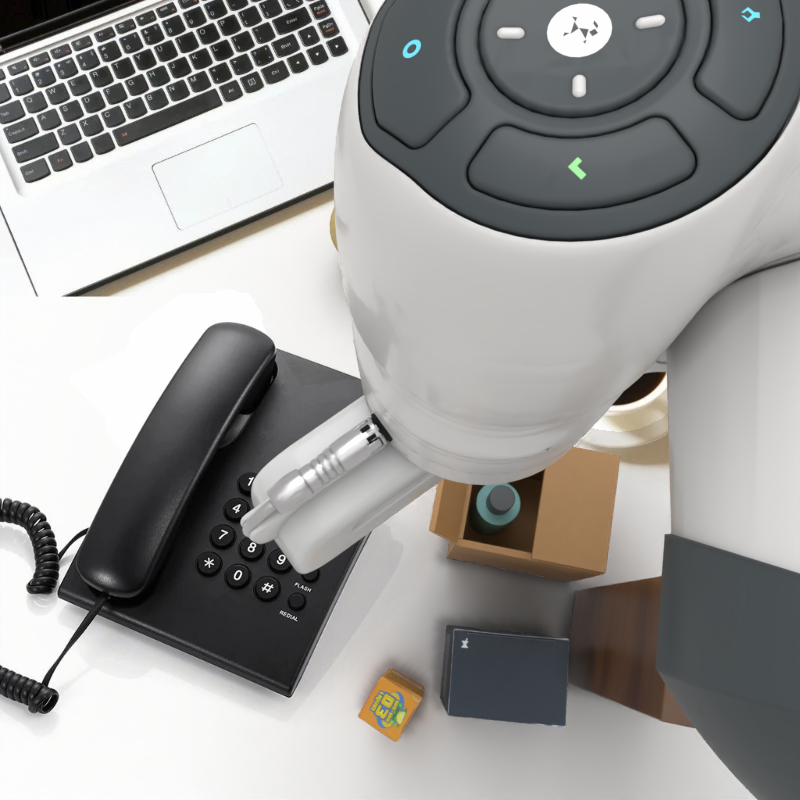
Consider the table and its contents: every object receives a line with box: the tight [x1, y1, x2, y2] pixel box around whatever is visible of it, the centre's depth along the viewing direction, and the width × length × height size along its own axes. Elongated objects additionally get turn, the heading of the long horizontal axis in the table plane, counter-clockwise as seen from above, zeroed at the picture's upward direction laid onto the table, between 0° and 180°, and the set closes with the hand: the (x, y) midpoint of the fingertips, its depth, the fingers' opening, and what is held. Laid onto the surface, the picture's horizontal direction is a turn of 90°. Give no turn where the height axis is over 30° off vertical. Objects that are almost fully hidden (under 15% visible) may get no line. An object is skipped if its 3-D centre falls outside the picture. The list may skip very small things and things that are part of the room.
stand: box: [568, 575, 695, 729], centre depth 51 cm, size 7×7×25 cm
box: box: [439, 624, 570, 728], centre depth 57 cm, size 8×6×11 cm
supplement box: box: [357, 667, 425, 743], centre depth 57 cm, size 3×3×10 cm
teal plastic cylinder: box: [469, 483, 521, 536], centre depth 60 cm, size 3×3×10 cm
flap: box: [428, 479, 468, 544], centre depth 52 cm, size 5×8×1 cm
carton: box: [446, 446, 622, 583], centre depth 59 cm, size 10×8×12 cm
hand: (458, 438), depth 41 cm, fingers closed
